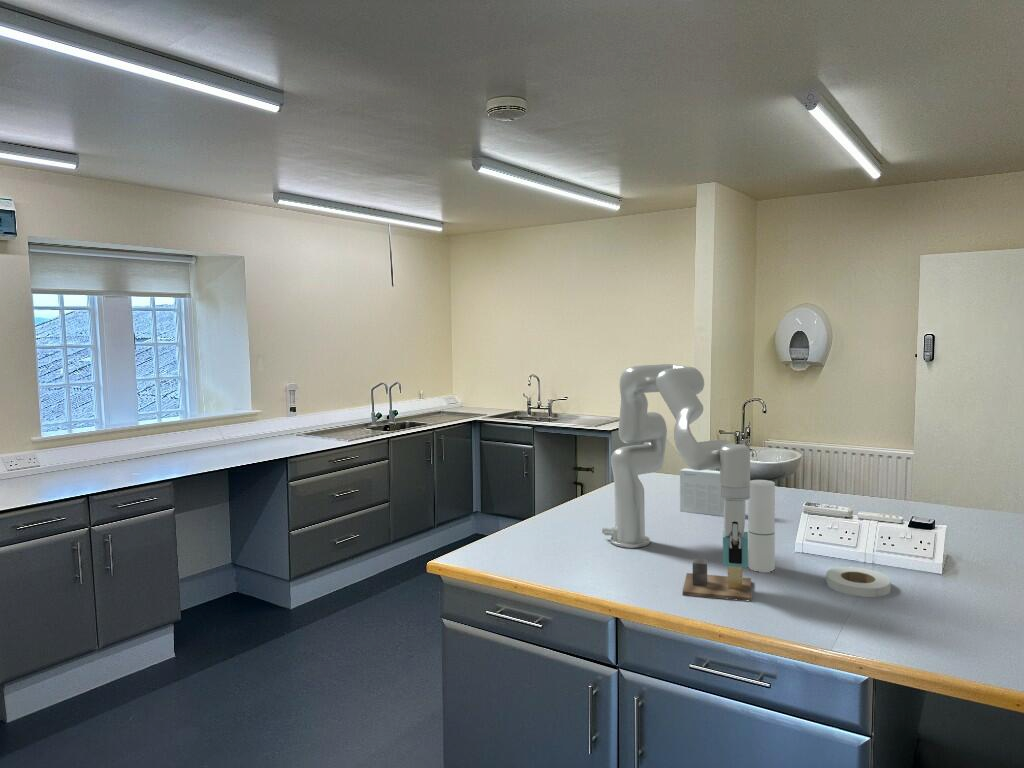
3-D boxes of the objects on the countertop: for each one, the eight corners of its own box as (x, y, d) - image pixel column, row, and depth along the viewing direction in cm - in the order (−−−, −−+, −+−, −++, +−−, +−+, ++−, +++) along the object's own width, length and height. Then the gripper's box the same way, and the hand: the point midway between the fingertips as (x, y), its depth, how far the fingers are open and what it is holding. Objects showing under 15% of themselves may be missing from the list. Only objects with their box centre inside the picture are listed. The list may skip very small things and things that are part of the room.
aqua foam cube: (723, 565, 182) (722, 537, 181) (723, 558, 188) (723, 530, 187) (748, 567, 180) (747, 538, 179) (747, 559, 186) (747, 531, 185)
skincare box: (739, 514, 256) (739, 472, 255) (735, 518, 252) (735, 475, 250) (684, 508, 267) (683, 467, 266) (679, 511, 263) (678, 470, 262)
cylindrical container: (774, 565, 202) (774, 480, 200) (774, 573, 196) (775, 486, 194) (748, 562, 205) (748, 479, 203) (748, 571, 198) (748, 484, 196)
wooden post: (727, 588, 183) (727, 565, 183) (728, 583, 187) (728, 561, 186) (742, 589, 182) (742, 567, 182) (742, 584, 186) (742, 562, 185)
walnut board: (682, 595, 182) (682, 569, 181) (686, 576, 195) (686, 552, 195) (751, 601, 177) (751, 574, 176) (750, 581, 190) (750, 556, 189)
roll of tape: (888, 602, 175) (888, 591, 174) (822, 591, 183) (822, 580, 182) (892, 582, 188) (892, 572, 187) (830, 573, 196) (830, 563, 195)
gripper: (721, 484, 192) (721, 547, 193) (719, 498, 175) (719, 568, 177) (749, 485, 189) (750, 549, 191) (750, 500, 173) (750, 571, 174)
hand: (735, 558), depth 184 cm, fingers closed on aqua foam cube, 6 cm apart
